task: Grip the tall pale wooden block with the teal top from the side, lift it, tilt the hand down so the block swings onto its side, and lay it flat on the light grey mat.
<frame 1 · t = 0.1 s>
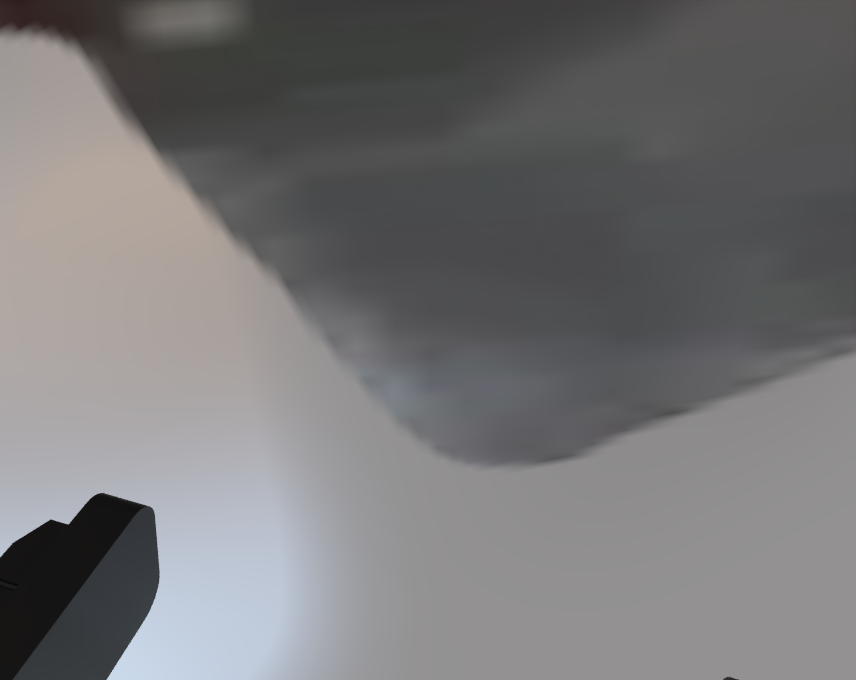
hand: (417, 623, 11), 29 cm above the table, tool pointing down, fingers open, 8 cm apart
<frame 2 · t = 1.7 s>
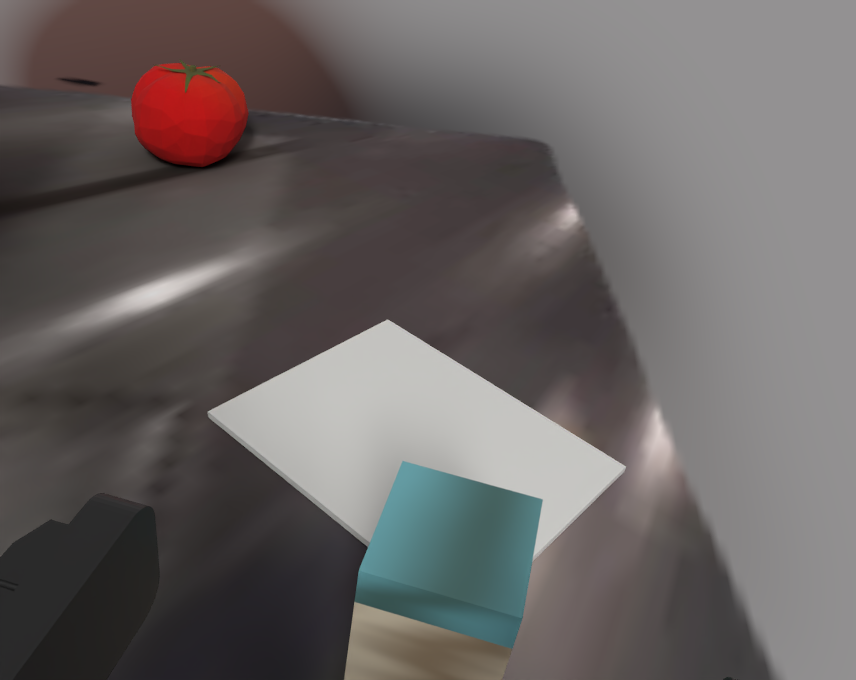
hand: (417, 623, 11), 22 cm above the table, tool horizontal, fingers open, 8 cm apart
tomato: (192, 159, 74), on the table
grey mat: (418, 444, 47), on the table
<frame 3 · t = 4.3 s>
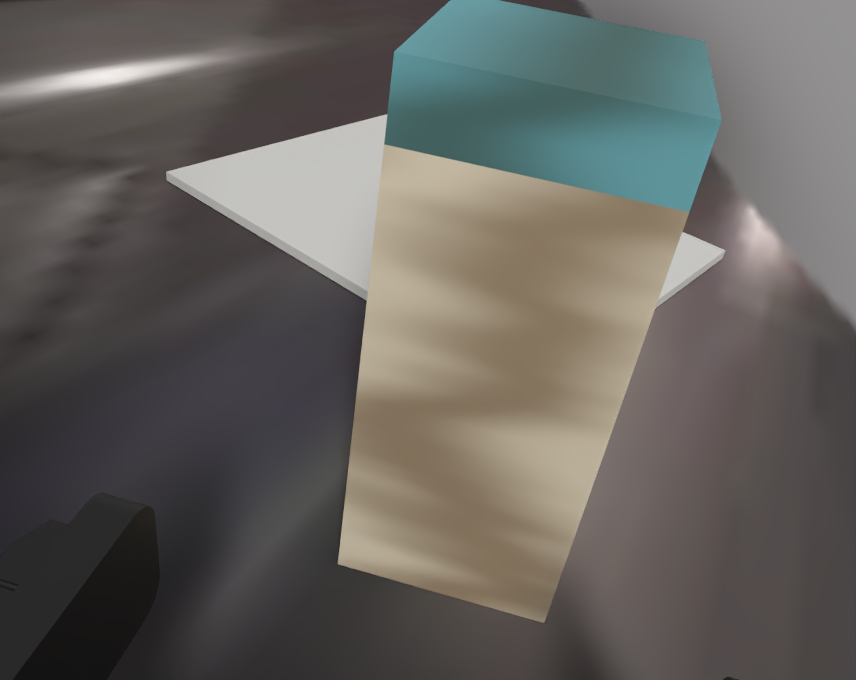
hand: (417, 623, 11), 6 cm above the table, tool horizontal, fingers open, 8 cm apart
pale wooden block: (460, 517, 21), on the table
grey mat: (449, 220, 35), on the table
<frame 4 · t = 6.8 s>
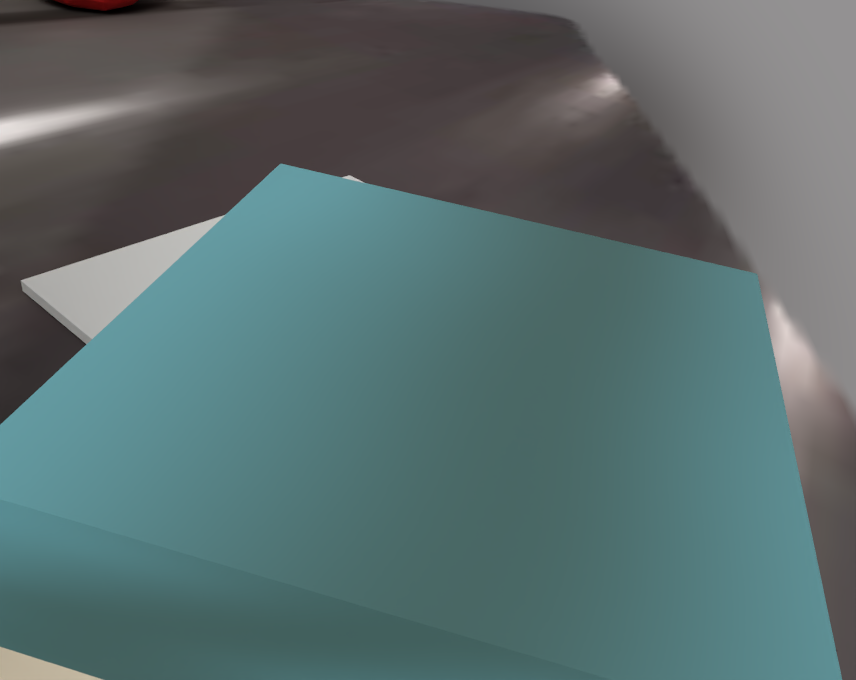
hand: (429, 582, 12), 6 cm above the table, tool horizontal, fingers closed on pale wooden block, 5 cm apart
tomato: (96, 6, 54), on the table
grey mat: (390, 340, 27), on the table
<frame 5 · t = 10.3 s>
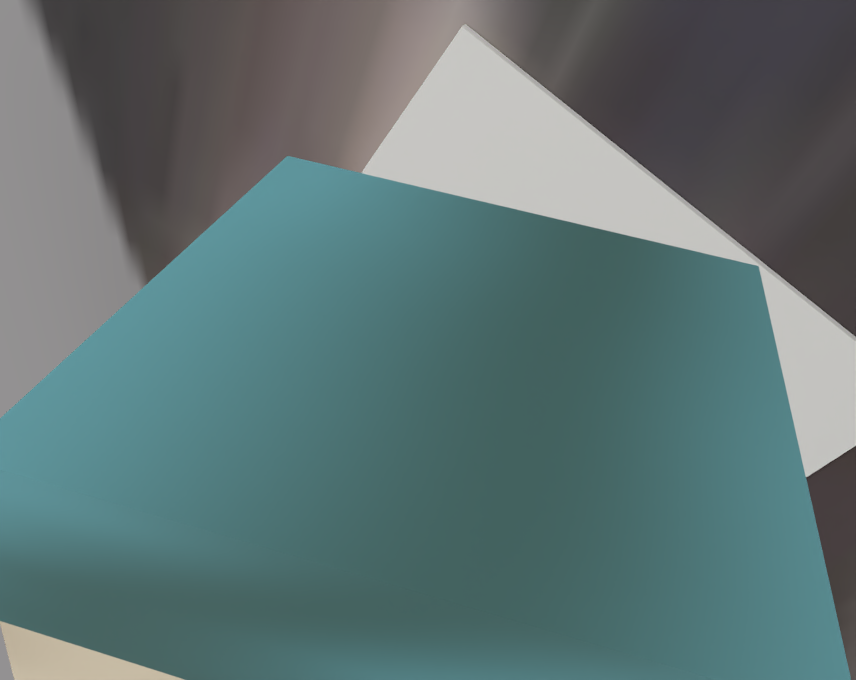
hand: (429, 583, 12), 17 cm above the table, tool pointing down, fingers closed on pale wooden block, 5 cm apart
grey mat: (553, 363, 29), on the table
when the fingers open (3 cm above the table, at t = 13.6 s): pale wooden block drops 2 cm, resting on grey mat.
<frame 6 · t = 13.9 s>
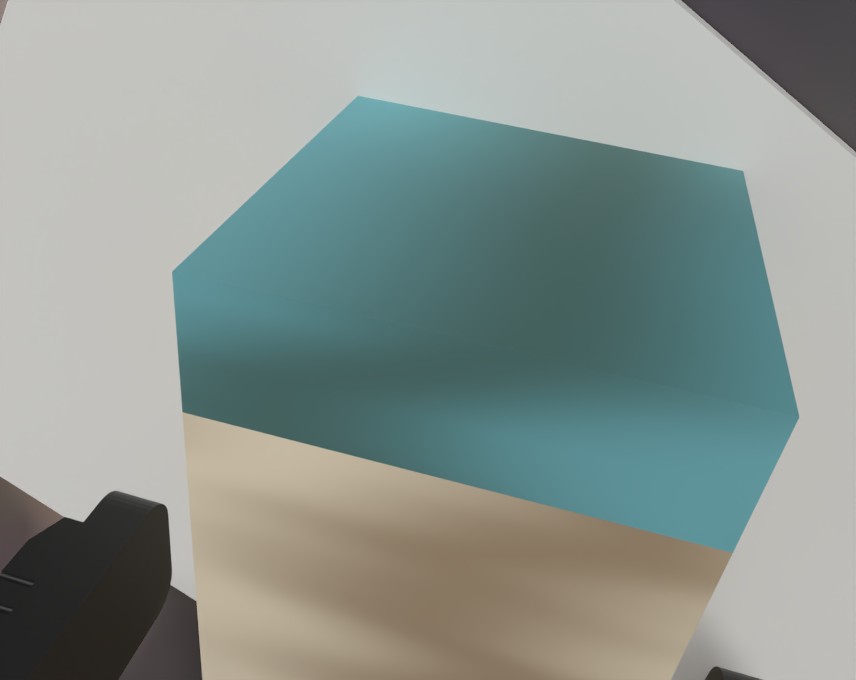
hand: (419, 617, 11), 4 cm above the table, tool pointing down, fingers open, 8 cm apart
grey mat: (468, 454, 14), on the table
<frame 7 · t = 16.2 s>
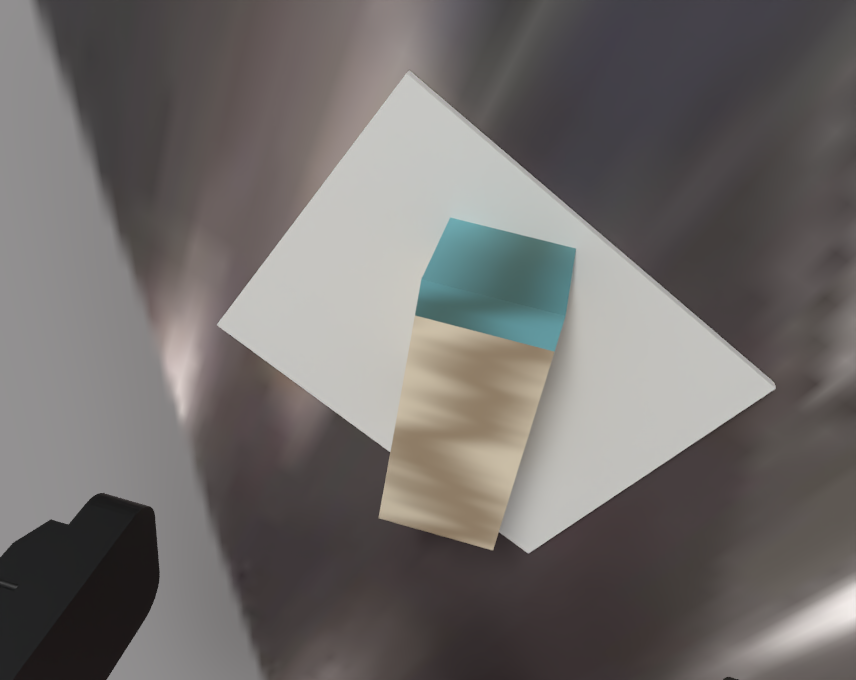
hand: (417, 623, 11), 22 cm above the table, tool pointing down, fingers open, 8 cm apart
pale wooden block: (447, 492, 36), point 3 cm above the table, tilted 90°, touching grey mat
grey mat: (479, 349, 35), on the table
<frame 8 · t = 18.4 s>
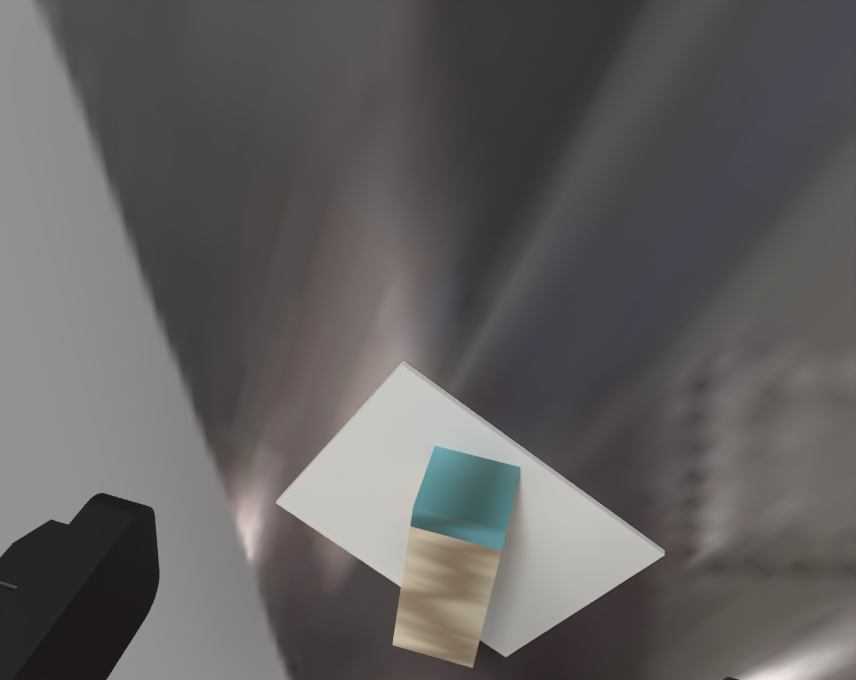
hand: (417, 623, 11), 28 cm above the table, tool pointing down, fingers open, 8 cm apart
pale wooden block: (441, 622, 51), point 3 cm above the table, tilted 90°, touching grey mat
grey mat: (460, 522, 50), on the table
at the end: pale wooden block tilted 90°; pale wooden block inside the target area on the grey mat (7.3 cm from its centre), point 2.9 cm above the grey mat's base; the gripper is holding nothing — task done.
